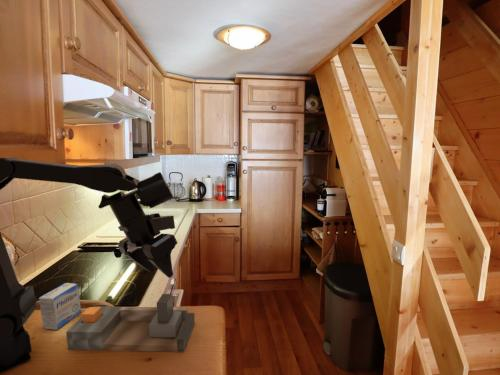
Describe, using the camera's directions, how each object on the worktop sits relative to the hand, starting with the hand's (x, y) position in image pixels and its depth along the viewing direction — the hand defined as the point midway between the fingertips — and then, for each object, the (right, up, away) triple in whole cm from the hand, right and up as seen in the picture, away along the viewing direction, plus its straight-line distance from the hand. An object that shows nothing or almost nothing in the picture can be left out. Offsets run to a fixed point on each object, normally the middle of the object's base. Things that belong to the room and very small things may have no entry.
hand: (161, 273), depth 68 cm
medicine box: (-28, -15, +7) cm, 33 cm away
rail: (-6, -15, +1) cm, 16 cm away
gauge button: (-17, -12, +1) cm, 21 cm away
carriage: (+1, -13, 0) cm, 13 cm away
